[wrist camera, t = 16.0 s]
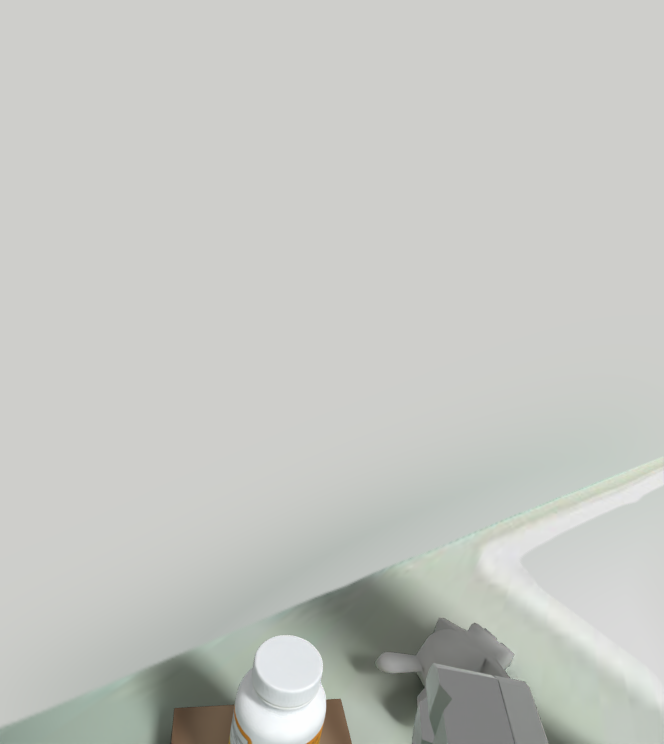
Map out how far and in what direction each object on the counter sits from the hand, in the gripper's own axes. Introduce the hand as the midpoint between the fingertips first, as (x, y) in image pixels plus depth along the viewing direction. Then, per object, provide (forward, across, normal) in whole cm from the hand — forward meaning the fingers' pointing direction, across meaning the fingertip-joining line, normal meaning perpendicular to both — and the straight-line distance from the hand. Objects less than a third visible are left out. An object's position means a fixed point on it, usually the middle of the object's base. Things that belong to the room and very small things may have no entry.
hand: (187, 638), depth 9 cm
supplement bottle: (+21, -2, +33) cm, 39 cm away
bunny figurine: (+36, -18, +35) cm, 53 cm away
